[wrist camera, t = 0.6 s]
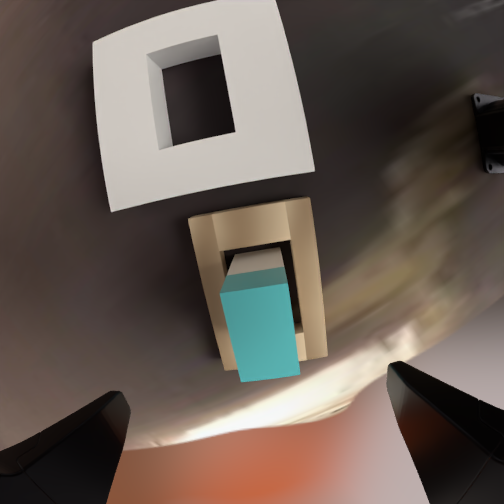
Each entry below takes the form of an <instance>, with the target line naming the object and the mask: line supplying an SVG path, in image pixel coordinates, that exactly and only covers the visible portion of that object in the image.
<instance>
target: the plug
mask: <svg viewBox="0 0 504 504" xmlns="http://www.w3.org/2000/svg"><path fill="white" fill-rule="evenodd" d="M220 297H221V302H222V306H223V310H224V315H225V319H226V323H227V327H228V331H229V335H230V339H231V344H232V348H233V352H234V356H235V360H236V363H237V367H238V371H239V375H240V379H241V382H248V381H257V380H265V379H273V378H281V377H288V376H294V375H300V368H299V360H298V353H297V345H296V337H295V330H294V323H293V316H292V309H291V302H290V295H289V288H288V282H287V277H286V272H285V268H284V263H283V259H282V254H281V250H280V247H277V248H271V249H264V250H258V251H252V252H246V253H240V254H235V255H234V258H233V260H232V263H231V266H230V268H229V271H228V273H227V276H226V278H225V281H224V283H223V286H222V288H221V291H220Z"/></svg>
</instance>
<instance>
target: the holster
mask: <svg viewBox="0 0 504 504" xmlns="http://www.w3.org/2000/svg"><path fill="white" fill-rule="evenodd" d="M188 222H189V227H190V232H191V236H192V241H193V245H194V250H195V254H196V259H197V263H198V268H199V272H200V276H201V280H202V285H203V289H204V293H205V297H206V301H207V305H208V309H209V313H210V317H211V321H212V325H213V329H214V332H215V336H216V340H217V344H218V347H219V351H220V355H221V358H222V362H223V365H224V369H225V370H236V369H238V367H237V363H236V360H235V356H234V352H233V348H232V344H231V339H230V335H229V331H228V327H227V323H226V319H225V315H224V310H223V306H222V302H221V297H220V291H221V288H222V286H223V283H224V281H225V278H226V276H227V273H228V271H227V266H226V261H225V256H224V251H225V250H231V249H237V248H243V247H249V246H255V245H261V244H267V243H273V242H279V241H285V240H290V245H291V252H292V259H293V265H294V272H295V279H296V287H297V294H298V301H299V309H300V317H301V323H296V324H294V330H295V337H296V345H297V353H298V360H299V361H303V360H309V359H315V358H321V357H326V356H328V355H327V341H326V329H325V317H324V306H323V296H322V287H321V277H320V269H319V260H318V252H317V244H316V237H315V229H314V222H313V215H312V209H311V202H310V198H309V197H307V196H305V197H299V198H292V199H286V200H280V201H274V202H268V203H262V204H256V205H250V206H244V207H239V208H233V209H228V210H222V211H217V212H212V213H206V214H201V215H196V216H193V217H191V218H189V219H188Z"/></svg>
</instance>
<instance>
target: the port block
mask: <svg viewBox="0 0 504 504" xmlns="http://www.w3.org/2000/svg"><path fill="white" fill-rule="evenodd" d="M219 54H221V55H222V61H223V66H224V71H225V77H226V82H227V87H228V93H229V98H230V103H231V109H232V114H233V119H234V125H235V130H236V132H235V133H229V134H224V135H220V136H215V137H210V138H206V139H201V140H197V141H193V142H189V143H184V144H180V145H176V146H173V143H172V137H171V131H170V125H169V118H168V112H167V105H166V98H165V91H164V83H163V76H162V69H165V68H168V67H171V66H175V65H178V64H182V63H186V62H189V61H193V60H197V59H201V58H205V57H210V56H214V55H219ZM93 77H94V94H95V107H96V118H97V128H98V136H99V144H100V152H101V159H102V165H103V172H104V178H105V183H106V189H107V194H108V200H109V205H110V209H111V212H114V211H118V210H122V209H126V208H130V207H134V206H138V205H142V204H146V203H150V202H154V201H158V200H163V199H167V198H172V197H176V196H180V195H185V194H190V193H194V192H199V191H204V190H209V189H214V188H219V187H224V186H229V185H235V184H240V183H246V182H251V181H257V180H263V179H269V178H275V177H281V176H287V175H294V174H301V173H308V172H314V171H315V168H314V163H313V157H312V151H311V146H310V141H309V135H308V130H307V125H306V120H305V115H304V111H303V106H302V101H301V97H300V92H299V88H298V83H297V79H296V75H295V71H294V67H293V63H292V59H291V55H290V51H289V47H288V43H287V39H286V36H285V32H284V28H283V25H282V21H281V18H280V14H279V11H278V8H277V4H276V1H275V0H217V1H212V2H208V3H203V4H199V5H195V6H191V7H187V8H184V9H180V10H176V11H173V12H170V13H166V14H163V15H160V16H157V17H154V18H151V19H148V20H145V21H142V22H140V23H137V24H134V25H132V26H129V27H127V28H124V29H122V30H119V31H117V32H114V33H112V34H110V35H108V36H105V37H103V38H101V39H99V40H97V41H94V42H93Z"/></svg>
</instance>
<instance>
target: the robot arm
mask: <svg viewBox="0 0 504 504" xmlns="http://www.w3.org/2000/svg"><path fill="white" fill-rule="evenodd" d="M476 98H477V100H478V101H477V100H476ZM471 100H472V104H473V108H474V113H475V117H476V122H477V127H478V133H479V139H480V145H481V151H482V159H483V167H484V170H485V172H486V173H504V98H501V97H496V96H490V95H484V94H477V93H476V94H473V95H472V96H471ZM488 165H489V168H488ZM386 384H387V390H388V394H389V397H390V400H391V403H392V407H393V410H394V413H395V417H396V420H397V423H398V426H399V429H400V431H401V434H402V436H403V438H404V440H405V443H406V445H407V448H408V450H409V452H410V455H411V457H412V460H413V462H414V465H415V467H416V469H417V472H418V474H419V477H420V479H421V482H422V485H423V487H424V490H425V492H426V495H427V498H428V500H429V503H430V504H504V410H502V409H500V408H497V407H495V406H493V405H490V404H488V403H486V402H483V401H482V400H479V401H478V399H477V398H475V397H473V396H471V395H469V394H467V393H465V392H463V391H460V390H459V389H457V388H454V387H453V386H450V385H448V384H446V383H444V382H442V381H440V380H438V379H436V378H434V377H432V376H430V375H428V374H426V373H424V372H422V371H420V370H418V369H416V368H414V367H412V366H410V365H408V364H406V363H404V362H403V361H397V362H393V363H390V364H389V365H388V371H387V383H386ZM130 415H131V410H130V407H129V405H128V403H127V401H126V399H125V397H124V395H123V393H122V392H120V391H109V392H108V393H106V394H104V395H103V396H101V397H99V398H98V399H96V400H94V401H93V402H91V403H89V404H88V405H86V406H84V407H83V408H81V409H79V410H78V411H76V412H74V413H72V414H71V415H69V416H67V417H66V418H64V419H62V420H60V421H59V422H57V423H55V424H53V425H52V426H50V427H48V428H46V429H45V430H43V431H41V432H39V433H37V434H36V435H34V436H32V437H30V438H28V439H26V440H24V441H22V442H20V443H18V444H16V445H14V446H11V447H9V448H7V449H4V450H2V451H0V504H106V502H107V499H108V495H109V492H110V489H111V485H112V482H113V479H114V476H115V472H116V469H117V466H118V463H119V460H120V457H121V453H122V450H123V447H124V443H125V438H126V433H127V428H128V424H129V419H130Z"/></svg>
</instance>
